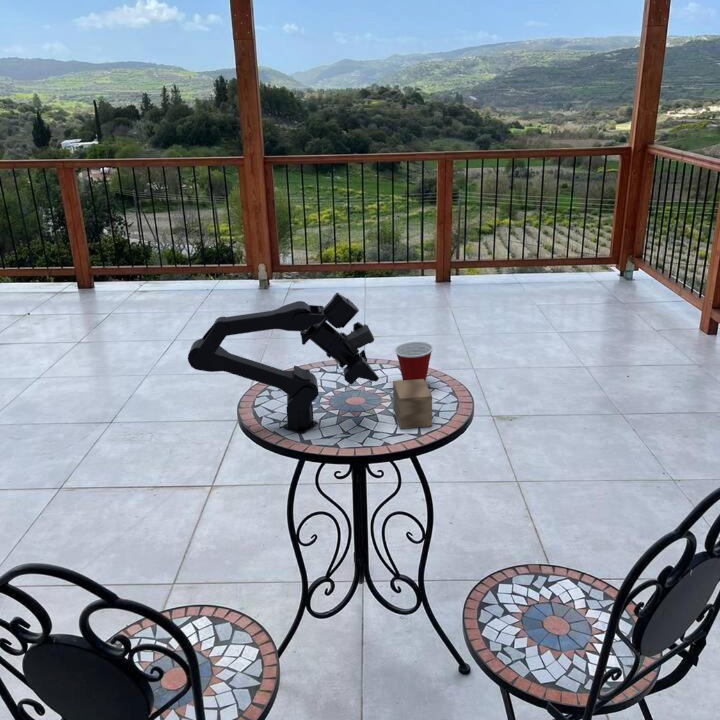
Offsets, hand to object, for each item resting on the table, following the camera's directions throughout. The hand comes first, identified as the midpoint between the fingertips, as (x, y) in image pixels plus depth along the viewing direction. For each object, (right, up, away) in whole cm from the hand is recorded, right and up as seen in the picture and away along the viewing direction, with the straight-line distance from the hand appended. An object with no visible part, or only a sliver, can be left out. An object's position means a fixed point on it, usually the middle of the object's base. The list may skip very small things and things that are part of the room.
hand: (377, 379), depth 168 cm
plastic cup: (+11, -3, +24) cm, 26 cm away
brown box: (+9, -10, +5) cm, 14 cm away
